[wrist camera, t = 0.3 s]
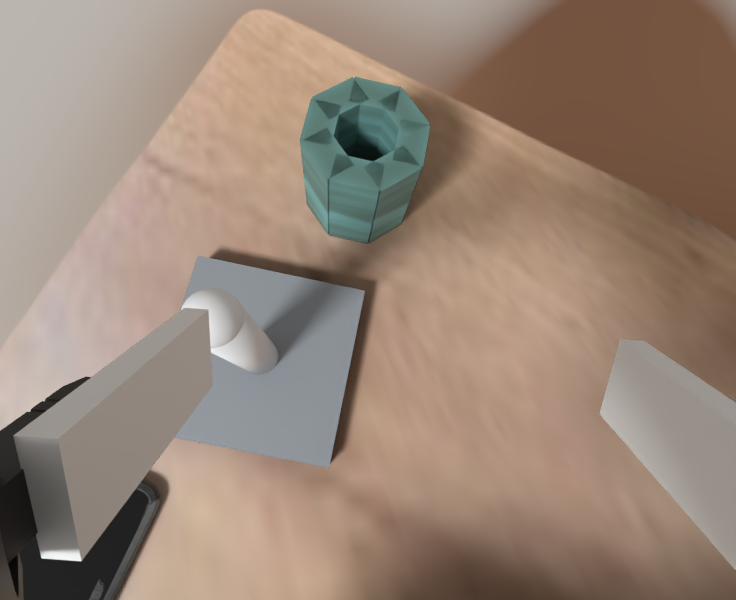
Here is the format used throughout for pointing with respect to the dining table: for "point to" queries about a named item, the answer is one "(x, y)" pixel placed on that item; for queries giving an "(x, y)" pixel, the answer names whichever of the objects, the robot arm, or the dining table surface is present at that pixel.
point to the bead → (362, 157)
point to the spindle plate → (299, 375)
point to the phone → (93, 556)
